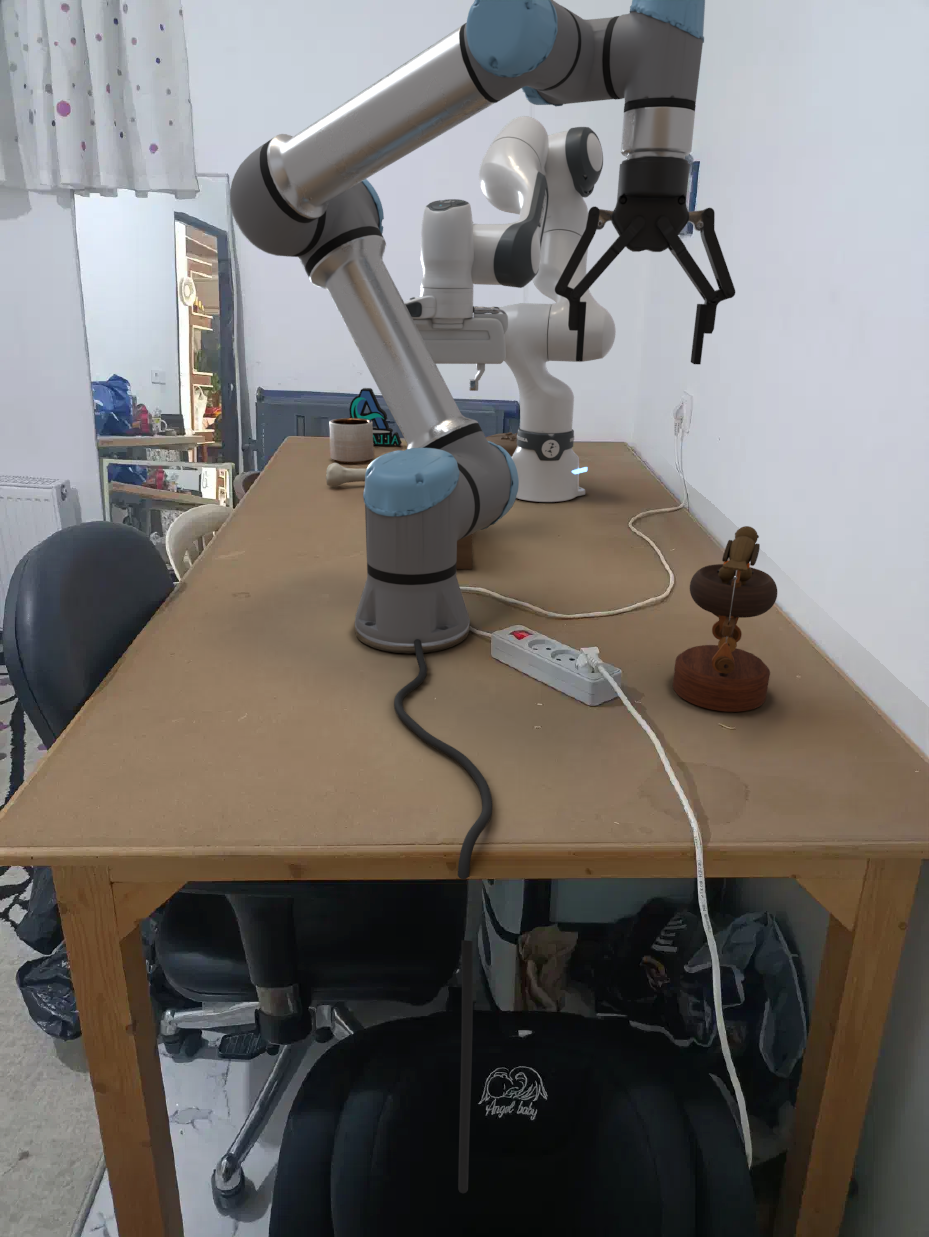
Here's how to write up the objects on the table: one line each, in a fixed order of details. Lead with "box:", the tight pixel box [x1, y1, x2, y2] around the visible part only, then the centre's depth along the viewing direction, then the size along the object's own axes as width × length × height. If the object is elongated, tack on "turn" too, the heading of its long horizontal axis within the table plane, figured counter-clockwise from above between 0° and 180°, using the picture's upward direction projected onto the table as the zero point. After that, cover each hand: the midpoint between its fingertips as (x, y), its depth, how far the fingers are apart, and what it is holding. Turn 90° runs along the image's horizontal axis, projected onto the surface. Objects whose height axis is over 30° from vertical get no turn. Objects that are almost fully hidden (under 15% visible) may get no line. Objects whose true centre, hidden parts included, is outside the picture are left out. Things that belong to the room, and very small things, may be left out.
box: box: [456, 533, 474, 570], centre depth 147 cm, size 26×6×12 cm, turn 4°
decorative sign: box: [348, 387, 402, 447], centre depth 230 cm, size 19×2×15 cm, turn 86°
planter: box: [328, 417, 375, 464], centre depth 212 cm, size 11×11×10 cm
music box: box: [672, 525, 778, 713], centre depth 95 cm, size 15×11×20 cm
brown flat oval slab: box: [485, 431, 518, 457], centre depth 221 cm, size 21×28×4 cm
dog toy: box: [325, 462, 367, 487], centre depth 188 cm, size 20×6×5 cm, turn 99°
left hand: (636, 362), depth 100 cm, fingers open, 13 cm apart
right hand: (446, 390), depth 148 cm, fingers open, 8 cm apart
